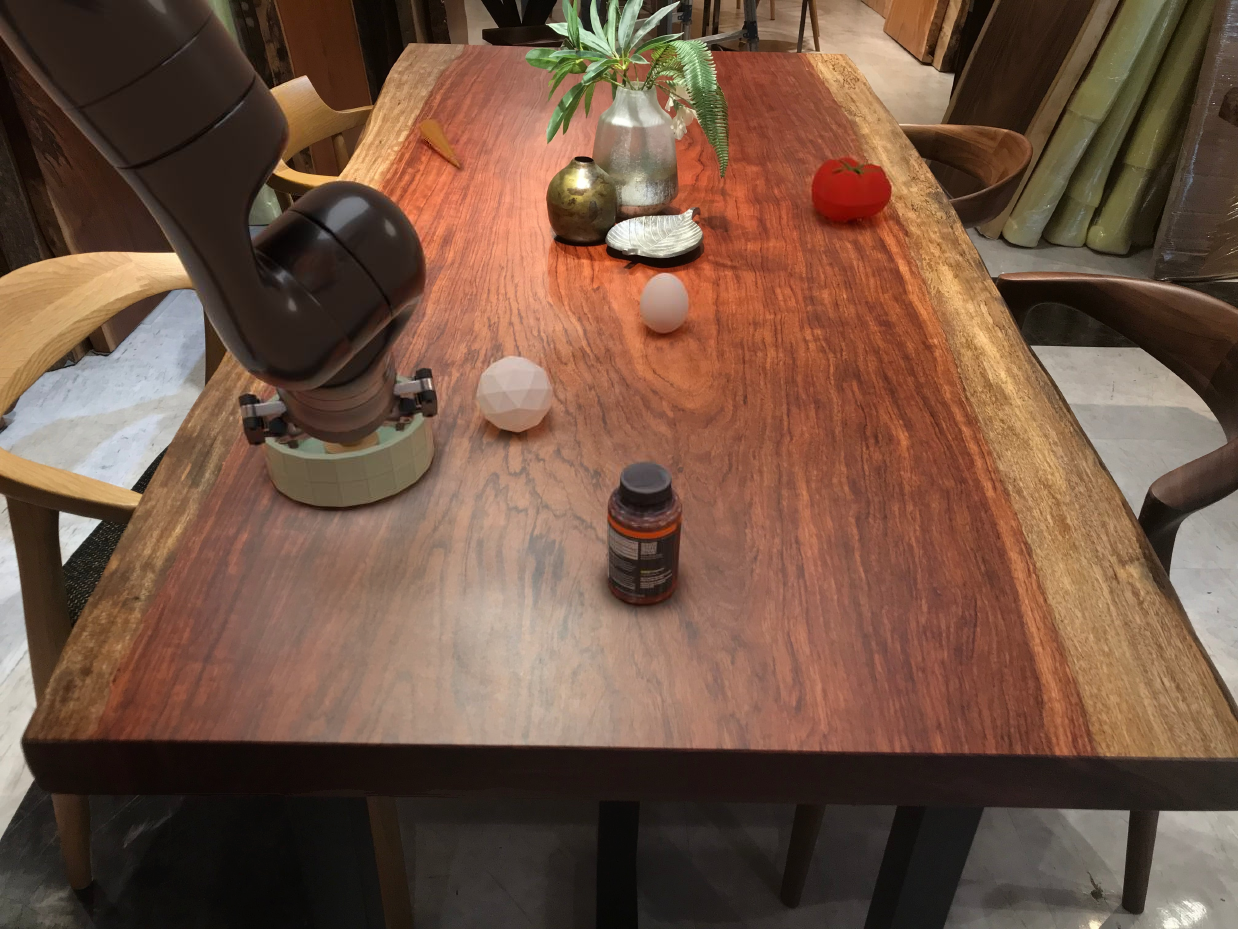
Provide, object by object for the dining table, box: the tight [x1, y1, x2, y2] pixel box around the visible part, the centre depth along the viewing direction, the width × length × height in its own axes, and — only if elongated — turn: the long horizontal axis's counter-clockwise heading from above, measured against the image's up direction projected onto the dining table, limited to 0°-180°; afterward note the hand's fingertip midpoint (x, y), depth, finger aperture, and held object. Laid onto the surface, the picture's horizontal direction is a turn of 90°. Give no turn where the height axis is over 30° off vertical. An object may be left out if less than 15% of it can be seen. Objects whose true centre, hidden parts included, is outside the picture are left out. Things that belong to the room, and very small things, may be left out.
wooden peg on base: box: [323, 431, 380, 454], centre depth 84 cm, size 5×5×12 cm
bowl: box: [260, 373, 435, 508], centre depth 86 cm, size 16×16×6 cm
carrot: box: [418, 118, 461, 169], centre depth 166 cm, size 20×4×4 cm, turn 26°
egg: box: [639, 272, 690, 334], centre depth 110 cm, size 6×6×8 cm
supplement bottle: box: [605, 461, 683, 605], centre depth 72 cm, size 6×6×11 cm
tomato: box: [810, 157, 893, 223], centre depth 143 cm, size 14×13×9 cm
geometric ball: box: [475, 355, 554, 433], centre depth 92 cm, size 8×8×8 cm
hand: (345, 427), depth 74 cm, fingers open, 8 cm apart
